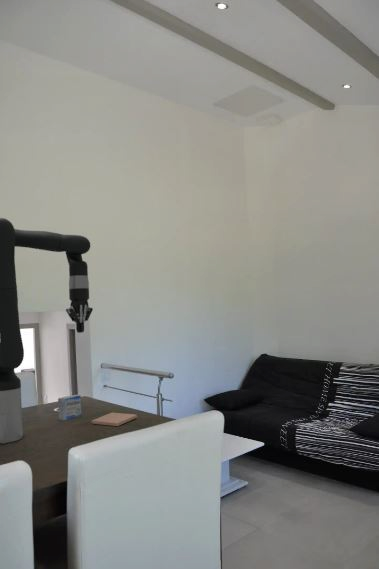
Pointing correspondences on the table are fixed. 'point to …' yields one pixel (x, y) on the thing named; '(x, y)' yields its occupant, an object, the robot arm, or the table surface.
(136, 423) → the table surface
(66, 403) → the medicine box
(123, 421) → the terracotta tile
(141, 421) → the table surface
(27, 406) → the table surface
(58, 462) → the table surface
